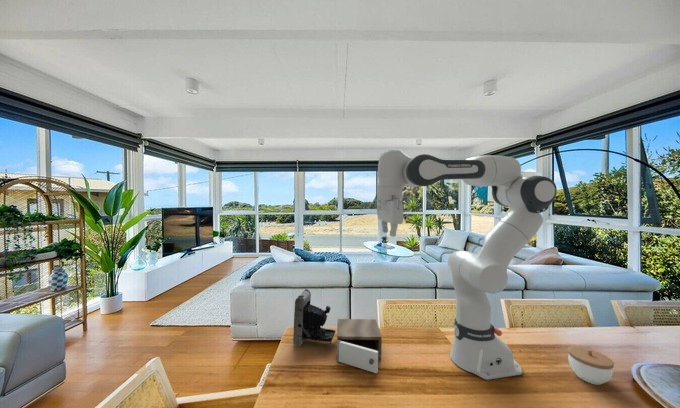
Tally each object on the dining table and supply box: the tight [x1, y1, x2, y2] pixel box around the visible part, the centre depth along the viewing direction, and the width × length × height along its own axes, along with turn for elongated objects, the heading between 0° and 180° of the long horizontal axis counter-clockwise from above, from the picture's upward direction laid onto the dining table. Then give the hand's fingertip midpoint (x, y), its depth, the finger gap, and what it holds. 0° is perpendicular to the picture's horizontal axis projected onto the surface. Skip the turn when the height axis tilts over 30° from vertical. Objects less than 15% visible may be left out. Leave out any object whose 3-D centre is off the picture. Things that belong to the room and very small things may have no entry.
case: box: [336, 318, 382, 361], centre depth 96 cm, size 16×13×8 cm
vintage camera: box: [292, 288, 337, 347], centre depth 100 cm, size 10×16×20 cm, turn 79°
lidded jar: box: [567, 345, 615, 386], centre depth 82 cm, size 11×11×9 cm
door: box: [336, 340, 379, 374], centre depth 85 cm, size 15×2×7 cm, turn 66°
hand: (388, 234), depth 89 cm, fingers open, 8 cm apart
